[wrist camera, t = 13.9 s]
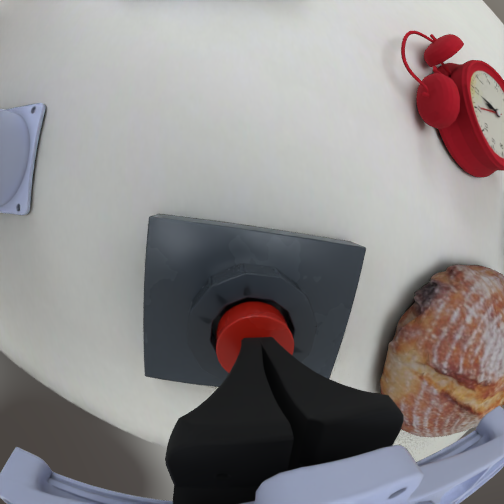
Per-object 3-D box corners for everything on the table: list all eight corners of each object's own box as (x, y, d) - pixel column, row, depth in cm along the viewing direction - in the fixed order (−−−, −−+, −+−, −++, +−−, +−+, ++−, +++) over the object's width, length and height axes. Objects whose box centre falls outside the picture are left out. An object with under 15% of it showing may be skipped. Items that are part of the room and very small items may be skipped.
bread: (441, 409, 24) (478, 458, 14) (328, 391, 21) (368, 485, 11) (513, 298, 21) (567, 332, 11) (435, 218, 17) (540, 254, 8)
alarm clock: (521, 207, 14) (454, 83, 9) (469, 195, 20) (376, 96, 14) (528, 115, 13) (454, -10, 7) (483, 112, 18) (399, 10, 13)
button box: (151, 358, 17) (138, 393, 14) (158, 213, 16) (138, 219, 12) (316, 372, 19) (333, 406, 15) (350, 241, 17) (382, 254, 13)
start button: (213, 358, 14) (212, 377, 12) (221, 296, 13) (220, 311, 11) (279, 363, 14) (285, 382, 13) (293, 304, 14) (302, 318, 12)
